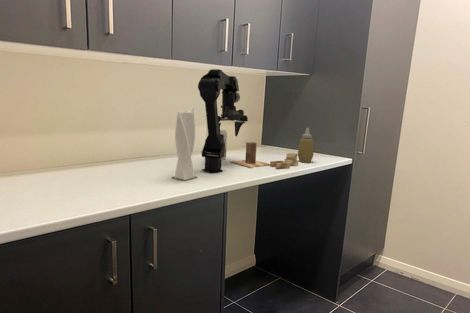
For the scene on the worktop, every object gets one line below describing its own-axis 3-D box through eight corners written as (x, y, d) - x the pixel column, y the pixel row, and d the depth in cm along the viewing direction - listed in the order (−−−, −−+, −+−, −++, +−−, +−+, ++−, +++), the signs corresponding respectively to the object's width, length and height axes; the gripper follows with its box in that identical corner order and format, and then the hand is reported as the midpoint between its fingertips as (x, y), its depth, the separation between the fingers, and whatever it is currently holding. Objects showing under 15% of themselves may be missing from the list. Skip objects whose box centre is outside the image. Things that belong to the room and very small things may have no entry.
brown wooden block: (248, 163, 161) (249, 143, 159) (245, 162, 164) (246, 142, 162) (255, 163, 163) (256, 143, 161) (252, 162, 165) (253, 142, 164)
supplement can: (207, 159, 170) (208, 129, 168) (213, 156, 178) (214, 128, 175) (222, 160, 168) (224, 131, 165) (228, 158, 176) (229, 129, 173)
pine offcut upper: (293, 160, 162) (294, 154, 162) (286, 159, 164) (286, 153, 164) (296, 159, 165) (297, 153, 165) (289, 158, 167) (290, 152, 167)
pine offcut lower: (289, 166, 162) (289, 160, 161) (284, 164, 166) (284, 158, 166) (298, 166, 164) (298, 160, 163) (292, 164, 168) (293, 158, 168)
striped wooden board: (249, 167, 154) (249, 167, 154) (230, 162, 164) (230, 161, 164) (270, 164, 163) (270, 164, 163) (250, 160, 173) (250, 159, 173)
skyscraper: (200, 178, 130) (202, 106, 125) (185, 182, 123) (187, 105, 118) (183, 174, 135) (185, 104, 130) (169, 178, 128) (170, 104, 123)
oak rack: (277, 169, 154) (277, 163, 154) (270, 166, 160) (270, 161, 159) (289, 168, 157) (290, 163, 157) (282, 165, 163) (282, 160, 162)
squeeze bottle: (305, 163, 170) (308, 128, 167) (293, 161, 176) (296, 126, 173) (316, 162, 175) (319, 128, 171) (304, 159, 181) (307, 126, 178)
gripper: (217, 104, 145) (217, 140, 148) (254, 104, 154) (253, 137, 157) (207, 103, 154) (207, 136, 157) (242, 103, 163) (241, 135, 166)
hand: (227, 136), depth 159 cm, fingers open, 9 cm apart
